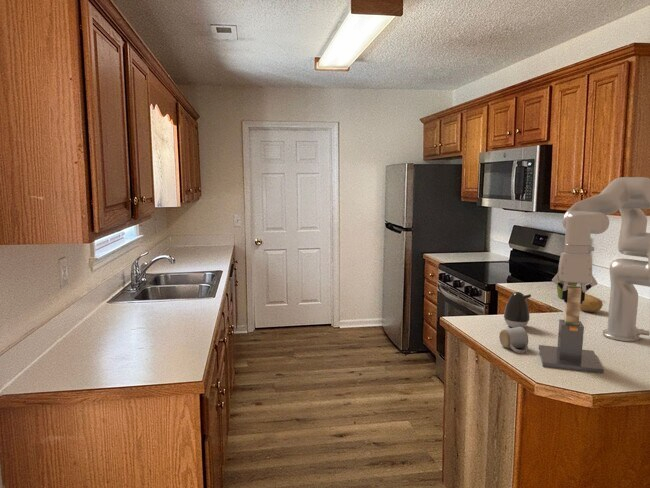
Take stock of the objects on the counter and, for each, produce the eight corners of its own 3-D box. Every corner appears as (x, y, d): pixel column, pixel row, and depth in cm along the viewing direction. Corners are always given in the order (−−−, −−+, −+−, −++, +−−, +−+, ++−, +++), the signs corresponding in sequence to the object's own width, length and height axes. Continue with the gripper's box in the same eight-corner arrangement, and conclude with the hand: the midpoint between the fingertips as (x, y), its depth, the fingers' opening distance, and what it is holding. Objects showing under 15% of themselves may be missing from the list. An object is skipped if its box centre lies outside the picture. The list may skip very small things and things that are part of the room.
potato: (591, 316, 222) (592, 299, 221) (568, 308, 235) (569, 292, 234) (608, 314, 224) (609, 297, 223) (585, 306, 238) (586, 291, 237)
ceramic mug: (497, 344, 184) (498, 325, 183) (516, 343, 186) (517, 324, 184) (513, 355, 174) (514, 334, 173) (533, 353, 175) (535, 333, 174)
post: (575, 338, 168) (579, 286, 166) (577, 342, 165) (581, 288, 162) (562, 337, 170) (566, 285, 167) (564, 340, 166) (568, 287, 163)
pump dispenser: (531, 331, 200) (534, 295, 198) (505, 329, 202) (507, 294, 200) (526, 323, 210) (528, 289, 208) (501, 322, 212) (503, 288, 210)
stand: (592, 354, 174) (595, 318, 172) (602, 373, 157) (606, 333, 155) (538, 348, 180) (540, 313, 178) (542, 366, 163) (545, 327, 161)
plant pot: (578, 297, 256) (580, 276, 255) (576, 302, 246) (578, 280, 245) (554, 294, 262) (555, 274, 261) (551, 299, 253) (552, 278, 251)
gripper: (602, 249, 163) (598, 301, 166) (548, 246, 169) (545, 297, 172) (607, 252, 157) (602, 307, 159) (550, 250, 162) (547, 302, 165)
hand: (572, 301), depth 165 cm, fingers closed on post, 4 cm apart
